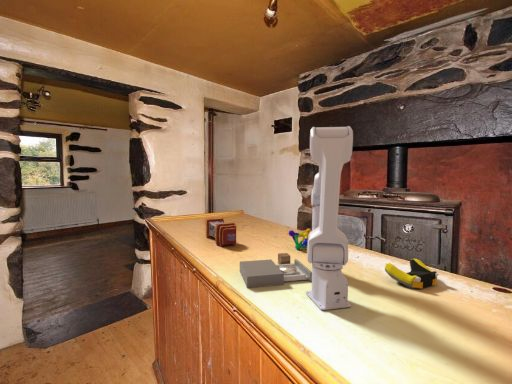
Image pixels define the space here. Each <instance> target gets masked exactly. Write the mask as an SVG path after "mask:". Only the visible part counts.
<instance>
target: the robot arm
mask: <svg viewBox="0 0 512 384" xmlns="http://www.w3.org/2000/svg"><path fill="white" fill-rule="evenodd" d="M309 132H310V133H309V151H310V158H311V160H312V162H314V163H316V164H318V172H317V173H316V174H315V175H314V179H313V180H314V182H313V187H312V190H311V196H310V203H311V207H312V214H311V215H312V218H311V219H312V220H311V232H310V233H309V235H308V244H307V248H306V249H307V252H306V253H307V255H306V256H307V257H306V258H307V259H306V260H307V262H308V263H309V264H311V272H312V281H311V290H306V291H305V294H306V295H307V296H308V297H309V299H311V301H312V302H313V303H314V304H315V305H316V306H317V308H319V310H321V311H327V310H334V309H335V310H336V309H341V308H343V309H344V308H350V307H352V306H351V304H350V303H349V302H348V301H349V298H348V297H349V281H348V278H347V277H346V276H345V275H344V273H343V271H342V269H343V266H346V265H347V263H348V262H349V241H348V237H347V235H346V234H345V233H344V232H343V231H341V230H340V229H339V228H338V220H339V205H340V204H339V203H340V193H341V191H340V190H341V174H342V170H343V167H344V165H345V164H347V163H349V162H350V161H351V159H352V156H353V146H354V145H353V143H354V131H353V129H352V127H351V126H350V125H347V126H333V127H332V126H328V127H327V126H325V127H324V126H323V127H315V126H312V127H311V129H310V131H309Z"/></svg>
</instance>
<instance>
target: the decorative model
mask: <svg viewBox="0 0 512 384" xmlns="http://www.w3.org/2000/svg"><path fill="white" fill-rule="evenodd" d="M311 231H312V228H307V229H305V231H302V232H295V231H294V230H292V229H290V230H289V231H288V235H289V236H290V237H291V238H292V240H293V242H294V244H295V245H294V248H295V250H301V249H307V244H308V235H309V233H310V232H311ZM301 237H302V238H301ZM299 238H301V240H300V241H299Z"/></svg>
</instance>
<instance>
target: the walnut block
mask: <svg viewBox="0 0 512 384" xmlns="http://www.w3.org/2000/svg"><path fill="white" fill-rule="evenodd" d="M281 264H291V255H290V254H289V253H288V252H281V253H280V252H279V253H277V265H281Z"/></svg>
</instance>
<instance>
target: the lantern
mask: <svg viewBox="0 0 512 384" xmlns="http://www.w3.org/2000/svg"><path fill="white" fill-rule="evenodd" d="M205 237H206V238H209V239H210V238H214V241H215V242H214V243H215V245H216V246H218V247H222V246H223V247H224V246H226V245H237V226H236V223H235V222H226V223H225V220H224V218H223V217H215V218H206V219H205Z"/></svg>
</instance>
